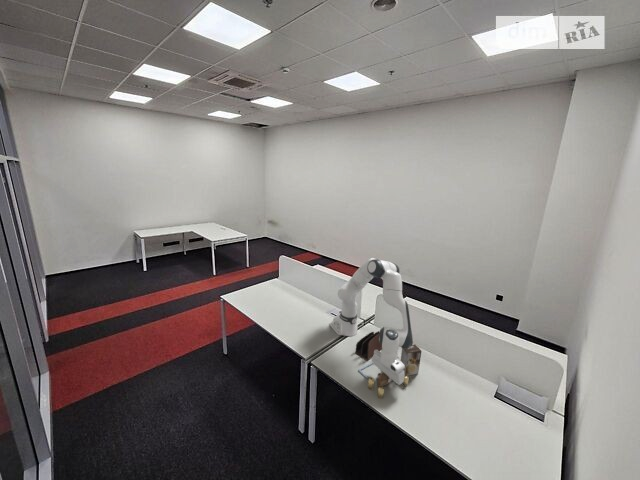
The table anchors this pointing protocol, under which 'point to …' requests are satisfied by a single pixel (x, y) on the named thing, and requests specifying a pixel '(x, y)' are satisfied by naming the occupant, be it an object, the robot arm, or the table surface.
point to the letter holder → (368, 345)
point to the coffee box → (411, 360)
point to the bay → (364, 368)
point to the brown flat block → (383, 380)
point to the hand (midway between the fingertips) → (385, 379)
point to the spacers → (380, 388)
